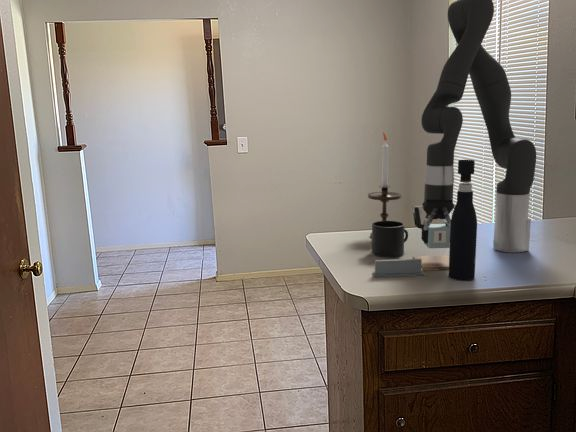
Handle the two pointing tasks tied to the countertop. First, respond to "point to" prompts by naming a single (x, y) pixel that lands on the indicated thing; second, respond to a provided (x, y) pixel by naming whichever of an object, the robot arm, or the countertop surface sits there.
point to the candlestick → (384, 185)
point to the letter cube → (438, 236)
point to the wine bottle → (463, 228)
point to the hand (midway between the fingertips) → (436, 242)
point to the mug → (388, 238)
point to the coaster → (434, 262)
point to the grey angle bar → (398, 268)
